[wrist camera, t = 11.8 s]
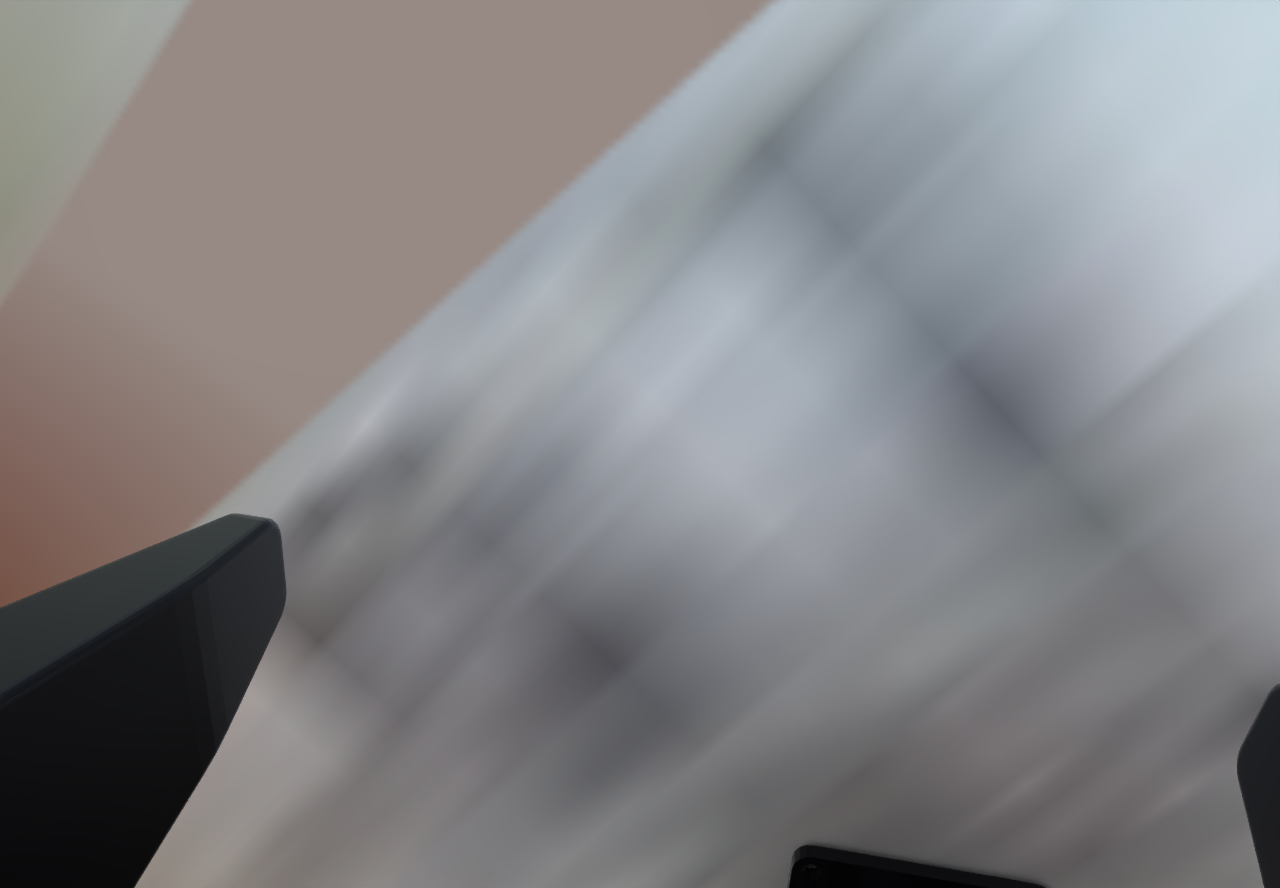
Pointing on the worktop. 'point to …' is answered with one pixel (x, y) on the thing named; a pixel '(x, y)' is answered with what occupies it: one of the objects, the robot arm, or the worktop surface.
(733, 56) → the worktop surface
